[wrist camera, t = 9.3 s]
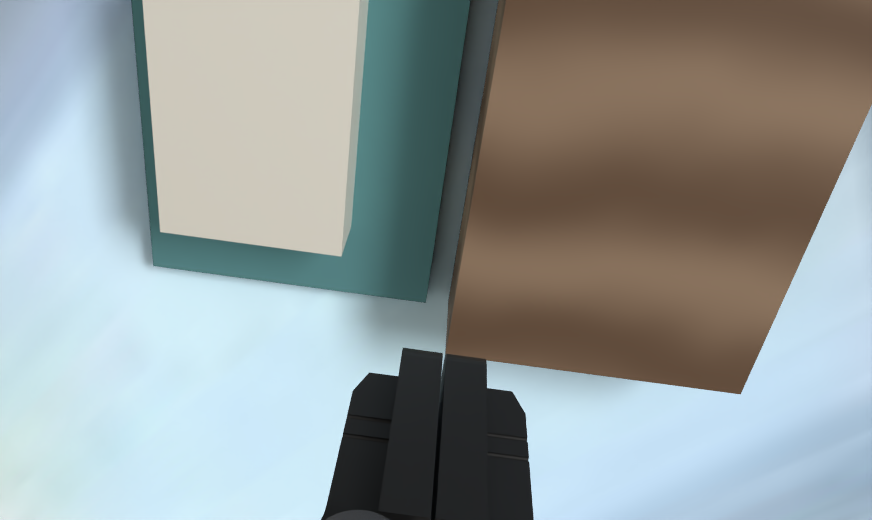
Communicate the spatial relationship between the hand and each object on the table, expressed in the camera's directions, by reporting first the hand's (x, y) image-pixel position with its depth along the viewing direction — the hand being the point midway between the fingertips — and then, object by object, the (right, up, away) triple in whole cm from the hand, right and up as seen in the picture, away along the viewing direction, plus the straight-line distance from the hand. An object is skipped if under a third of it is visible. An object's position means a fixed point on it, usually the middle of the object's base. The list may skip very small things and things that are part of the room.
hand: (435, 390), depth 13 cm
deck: (+8, +7, +15) cm, 18 cm away
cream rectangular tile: (-6, +7, +12) cm, 16 cm away
